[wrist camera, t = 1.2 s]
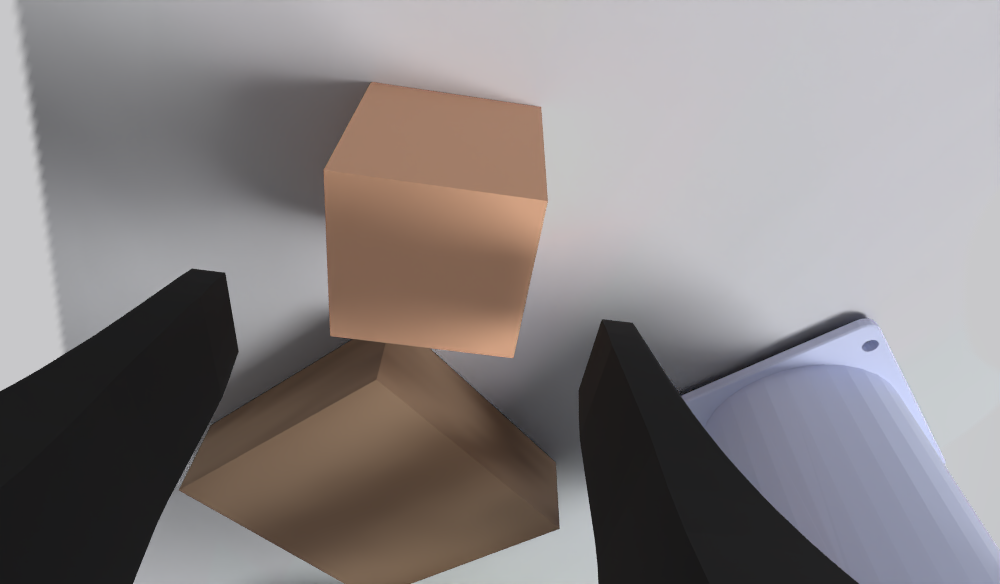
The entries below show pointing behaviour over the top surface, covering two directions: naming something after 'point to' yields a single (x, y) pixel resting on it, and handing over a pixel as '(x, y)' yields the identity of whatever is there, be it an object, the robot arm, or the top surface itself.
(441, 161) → the terracotta block
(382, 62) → the top surface
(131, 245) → the top surface
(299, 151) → the top surface
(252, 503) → the walnut plinth
